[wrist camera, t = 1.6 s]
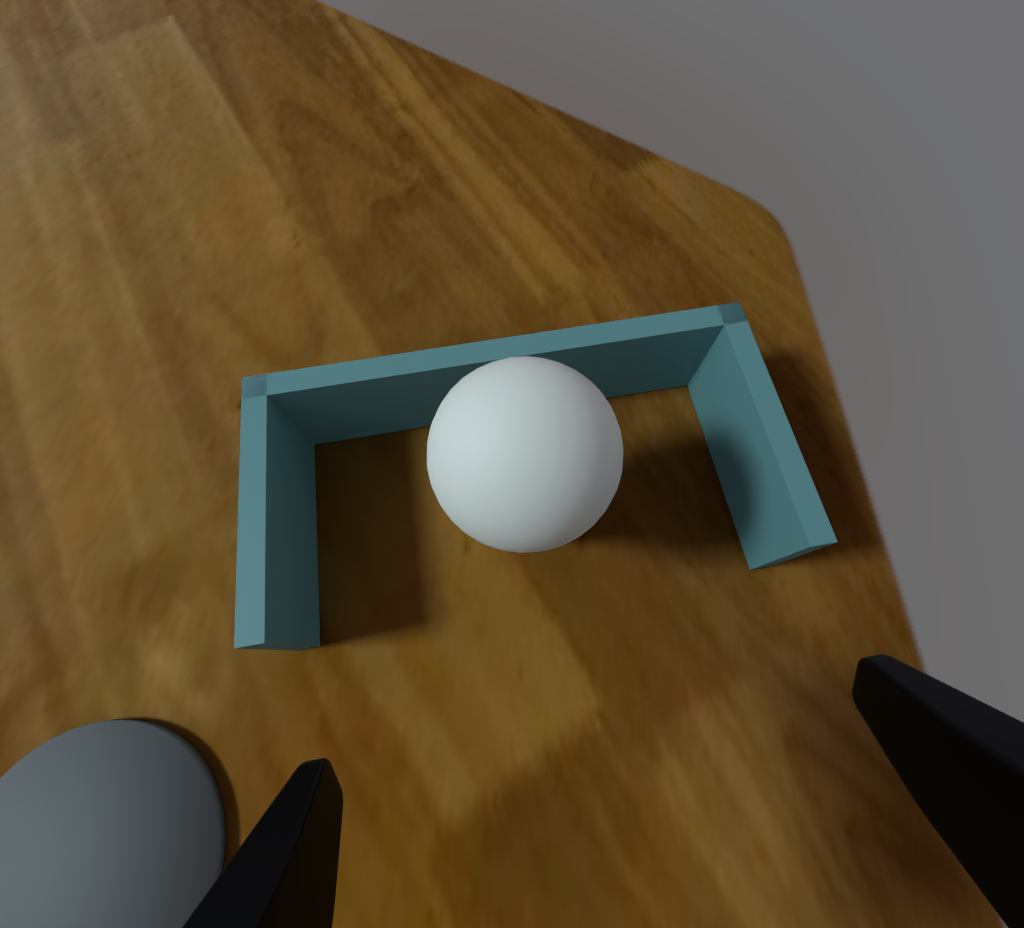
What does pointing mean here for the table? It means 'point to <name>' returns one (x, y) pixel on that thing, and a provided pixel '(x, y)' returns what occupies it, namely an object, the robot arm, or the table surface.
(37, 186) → the table surface
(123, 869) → the mat
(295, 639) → the u-shaped channel
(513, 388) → the lightbulb
